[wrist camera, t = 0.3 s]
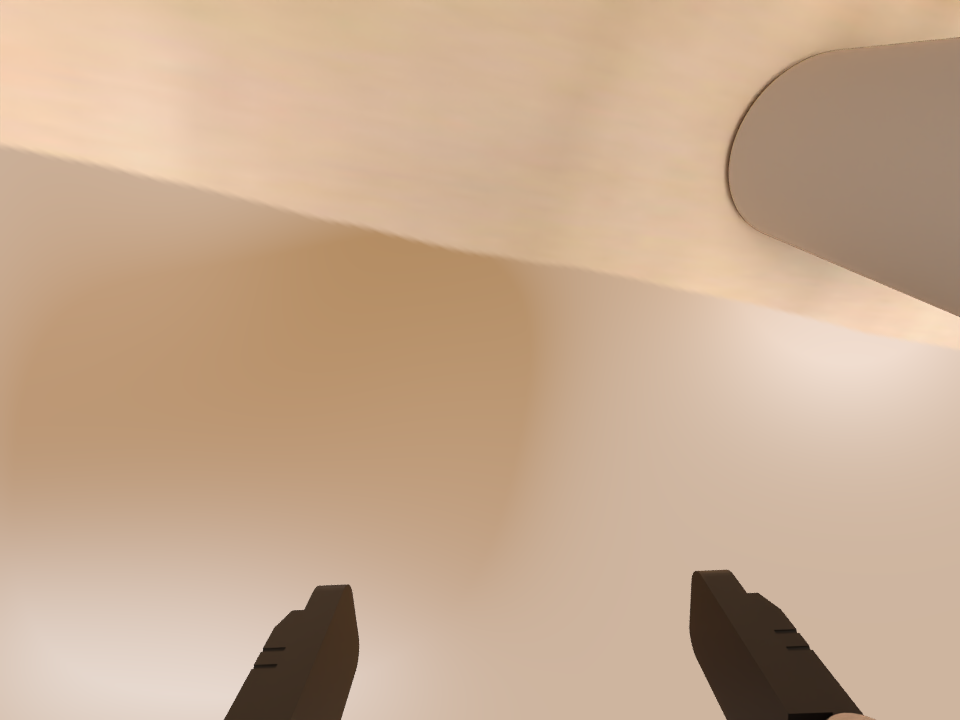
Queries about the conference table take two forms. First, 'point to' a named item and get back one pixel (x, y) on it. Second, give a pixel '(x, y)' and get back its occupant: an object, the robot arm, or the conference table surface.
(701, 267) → the conference table surface
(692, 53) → the conference table surface
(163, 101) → the conference table surface
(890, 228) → the cylinder vase
